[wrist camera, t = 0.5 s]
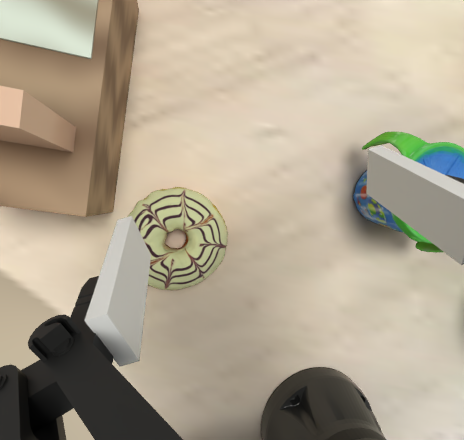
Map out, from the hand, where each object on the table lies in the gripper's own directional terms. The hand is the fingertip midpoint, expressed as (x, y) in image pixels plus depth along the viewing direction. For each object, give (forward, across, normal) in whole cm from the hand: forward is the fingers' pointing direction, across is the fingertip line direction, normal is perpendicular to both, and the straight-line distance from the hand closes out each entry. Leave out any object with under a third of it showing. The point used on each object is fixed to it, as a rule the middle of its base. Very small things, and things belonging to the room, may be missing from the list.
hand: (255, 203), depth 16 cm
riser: (+23, +14, -5) cm, 27 cm away
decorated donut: (+16, +8, +11) cm, 21 cm away
